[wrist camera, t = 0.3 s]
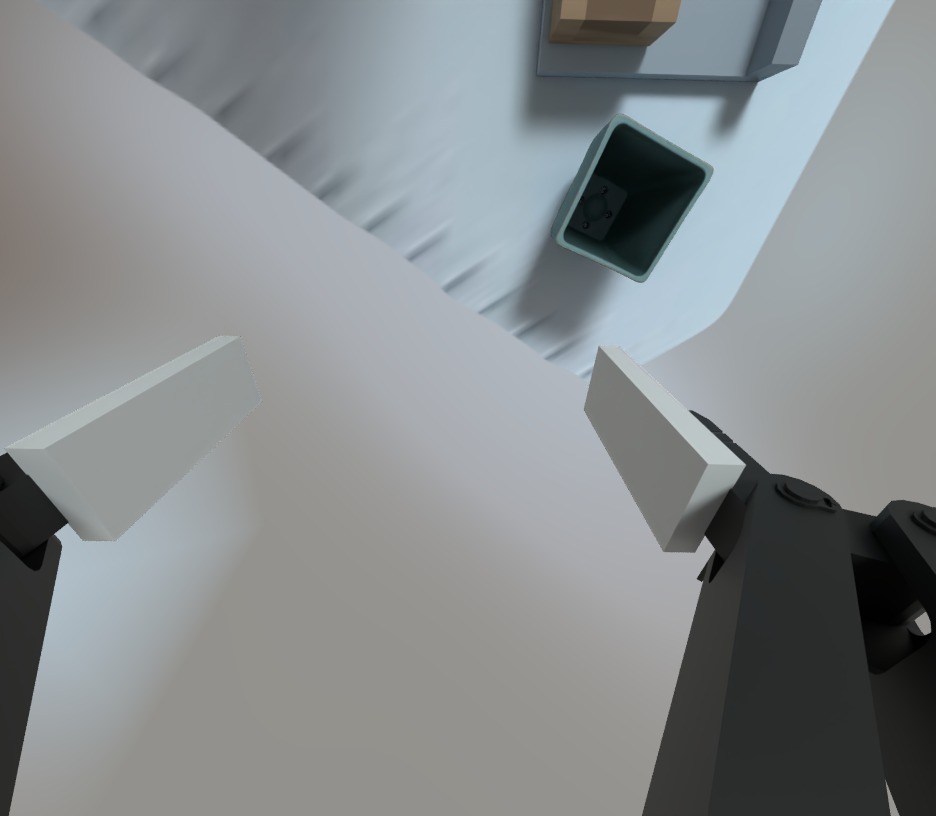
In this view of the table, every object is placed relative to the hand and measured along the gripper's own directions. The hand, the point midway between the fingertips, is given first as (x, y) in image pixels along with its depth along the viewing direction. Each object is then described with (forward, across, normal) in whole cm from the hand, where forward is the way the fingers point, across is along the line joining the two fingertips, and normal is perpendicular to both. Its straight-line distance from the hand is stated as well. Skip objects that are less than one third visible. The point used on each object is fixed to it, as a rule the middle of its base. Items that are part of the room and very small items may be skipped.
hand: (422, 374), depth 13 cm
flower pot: (+28, +14, +6) cm, 32 cm away
